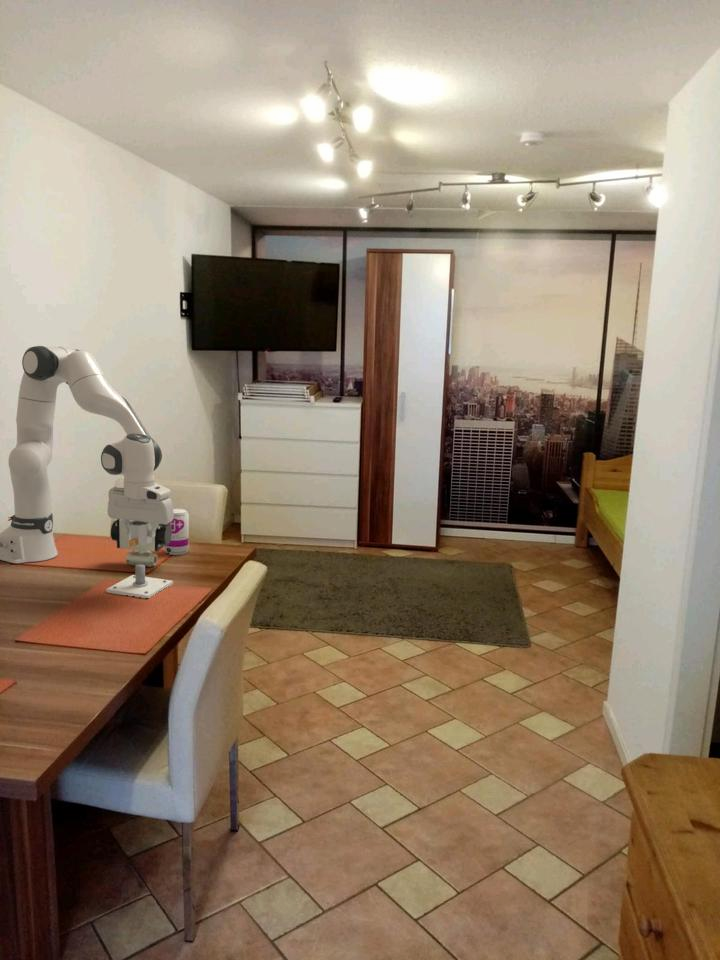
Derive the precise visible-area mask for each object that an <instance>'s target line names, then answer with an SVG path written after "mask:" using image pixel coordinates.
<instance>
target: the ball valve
mask: <svg viewBox="0 0 720 960" xmlns="http://www.w3.org/2000/svg"><path fill="white" fill-rule="evenodd" d="M131 521H132V520H130V521H129V522H131ZM152 527H153V526H151V529H152ZM171 536H172V529H171V526H170V525H169V524H159V526H158V527H157V529H156V530H155V536H154V537H152V542H151V543H149V544H146V545H136V546H134V547H131V546H129V534H126V528H125V527H124V525H123V524H122V519H116V520H114V521H113V522H112V524H111V527H110V538H111V540H112V541H113V542H115V544H116V549H122V550H123V549H124V550H132V551H129V552H127V554H126V556H125V562H126V564H127V565H130V566H134V567H135V566H136V565H139V564H142V565H145V567H146V566H147V567H149V568H151V567H155V566H156V565H157V563H158V555H157V554H156V553H154V552H159V551H161V549H163V548H165V545H168V544H169V543H170V540H171Z"/></svg>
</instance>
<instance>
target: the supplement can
mask: <svg viewBox="0 0 720 960" xmlns="http://www.w3.org/2000/svg"><path fill="white" fill-rule="evenodd" d="M173 514H174V517H173V520H172V522H170V523H168V524H169V525H170V526H171V529H172V536H171V540H170V543H169V544H168V545H165V546H164V552H165V554H167V553H169V554H168V555H170V554H171V555H170V556H181V555H185V554H188V552H189V550H190V549H189V547H190V543H189V542H190V539H189V538H190V535H189V533H190V527H189V526H190V515H189V512H188V510H187V509H184V508H173Z"/></svg>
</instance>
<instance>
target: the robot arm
mask: <svg viewBox="0 0 720 960" xmlns="http://www.w3.org/2000/svg"><path fill="white" fill-rule="evenodd" d="M21 363H22V370H23V374H22V377H21V381H20V384H19V385H20V386H19V391H18V400H17V409H16V418H15V421H16V445H15V447H14V448H13V449H12V450H11V451H10V453H9V456H8V468H9V474H10V480H11V485H12V492H13V502H14V514H13V515H12V516H10V517H9V516H8V520H7V521H8V522H11V523H10V525H9V526H8V527H7V528H5V529H4V530H3V531H2V532H0V560H1V561H5V562H7V563H12V564H22V563H33V562H43V561H47V560H51V559H54V558H55V557H57V556H58V554H59V552H58V550H57V549H58V548H57V547H56V542H55V537H54V532H53V528H54V526H53V525H54V518H53V517H54V515H53V512H52V502H51V501H52V500H51V499H52V498H51V497H52V496H51V489H50V484H49V477H48V476H49V475H48V466H49V464H50V462H51V460H52V457H53V443H54V420H55V410H56V401H57V391H58V387H59V385H62V384H63V383H65V384H66V385H68V388H69V390H70V393H71V395H72V397H73V399H74V401H75V402H76V404H77V405H78V406H79V408H80V409H82V410H84V411H85V412H88V413H90V414H95V415H99V416H104V417H106V418H110V419H112V420H113V421H115V422H117V423H118V424H119V425H120V426H121V427H122V429H123V430H124V432H125V434H126V435H125V436H124V438H123V439H122V440H119V441H117V442H113V443H110V444H109V443H108V444H107V445H105V447H104V448H103V449H102V452H101V454H100V462H101V463H100V464H101V466H102V468H103V470H104V471H105V472H106V473H107V474H109V475H112V476H121V475H122V476H123V487H117V486H114V487H112V488H110V489H109V490H108V502H107V515H108V517H109V518H110V519H116V520H117V519H122V524H123V525H124V527H125V528H126V534H129V521H130V520H132V521H141V522H149V523H151V526H153V527H152V529H151V530H150V531H148V537H154V536H155V530H156V529H157V527H158V526H159V524H168V523H170V522H172V520H173V517H174V514H173V509H174V505H173V501H172V499H171V498H170V496H171V495H172V491H171V489H169V488H168V487H166V486H164V485H161V484H159V483H157V482H156V477H155V474H154V471H156V470H157V469H158V467H159V466H160V464H161V463H162V460H163V453H162V450H161V447H160V446H159V444H158V443H157V442H156V441H155V439H153V437H152V436H151V435H150V433H149V432H148V431H147V429H146V427H145V426H144V425H143V423H142V421H141V419H140V418H139V416H138V415H137V413H136V411H134V409H133V406H131V404H130V403H129V402H128V401H127V399H126V398H125V397H123V396H122V395H120V394H119V393H118V392H117V391H116V390H115V389H114V387H113V386H112V385H111V384H110V382H109V381H108V378H107V377H106V374H105V373H104V371H103V368H102V367H101V366H100V363H99V362H98V360H96V358H95V357H94V355H93V354H92V353H90V352H89V351H87V350H79V349H72V348H68V347H64V346H43V345H37V346H35V345H34V346H30V347H28V349H26V350H25V352H24V354H23V356H22V360H21Z"/></svg>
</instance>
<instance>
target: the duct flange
mask: <svg viewBox="0 0 720 960" xmlns="http://www.w3.org/2000/svg"><path fill="white" fill-rule="evenodd" d="M134 571H135V574H132V575H130V576H127V577H126V578H124V579H122V580H121V581H118V582H117V583H115V584H114V585H112V586H109V587H108V588H106V589H105V592H106V593H109V594H114V595H115V594H116V595H119V596H120V595H121V596H126V595H128V597H132V596H135V597H134V598H139V597H141V598H140V599H145V598H149V599H151V598H152V597H151V596H153V595H154V596H156V595H157V594H156V593H158V592H159V591H161V590H162V591H164V590H165V589H164V588H166V587H167V588H169V587H171V586H172V585H173V584H174V581H173V580H168V579H163V578H156V577H151V576H146V566H145V565H142V564H139V565H136V566H134ZM168 586H169V587H168ZM167 588H166V589H167ZM163 589H164V590H163ZM162 591H161V592H162ZM159 593H160V592H159ZM159 593H158V594H159ZM155 594H156V595H155ZM154 596H153V597H154ZM150 597H151V598H150Z"/></svg>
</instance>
